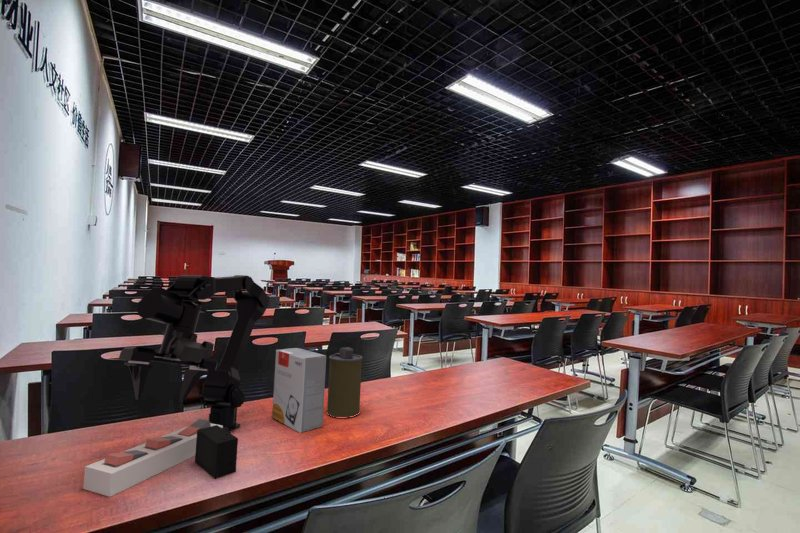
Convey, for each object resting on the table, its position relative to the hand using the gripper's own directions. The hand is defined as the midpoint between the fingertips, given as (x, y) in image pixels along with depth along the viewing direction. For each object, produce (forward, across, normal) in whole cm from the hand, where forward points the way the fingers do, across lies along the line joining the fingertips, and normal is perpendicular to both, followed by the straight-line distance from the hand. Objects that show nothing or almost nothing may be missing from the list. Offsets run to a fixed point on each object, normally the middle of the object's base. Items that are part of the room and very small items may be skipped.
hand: (160, 400), depth 80 cm
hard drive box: (+4, +38, -4) cm, 38 cm away
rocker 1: (+11, -4, -1) cm, 12 cm away
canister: (+1, +52, -9) cm, 52 cm away
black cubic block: (+12, +10, -10) cm, 19 cm away
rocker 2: (+9, +4, +1) cm, 10 cm away
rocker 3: (+7, +11, +2) cm, 13 cm away
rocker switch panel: (+12, +6, +1) cm, 13 cm away
